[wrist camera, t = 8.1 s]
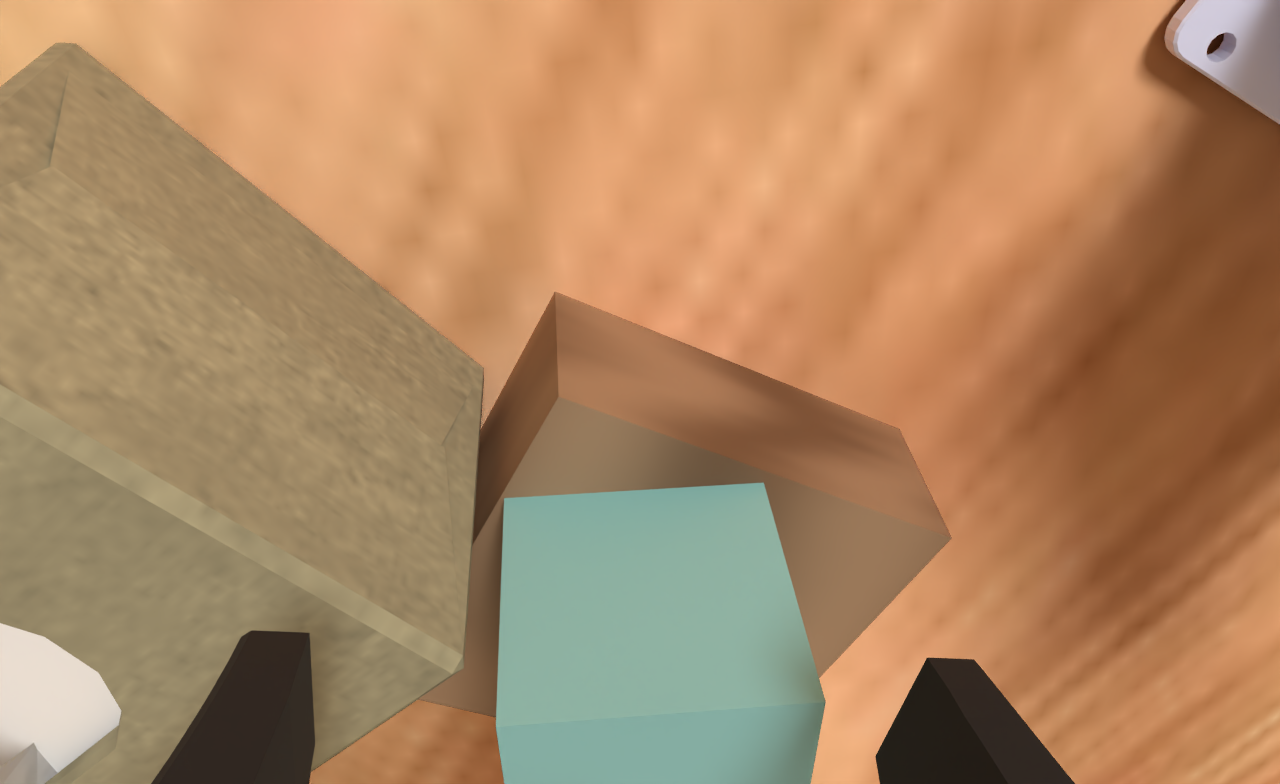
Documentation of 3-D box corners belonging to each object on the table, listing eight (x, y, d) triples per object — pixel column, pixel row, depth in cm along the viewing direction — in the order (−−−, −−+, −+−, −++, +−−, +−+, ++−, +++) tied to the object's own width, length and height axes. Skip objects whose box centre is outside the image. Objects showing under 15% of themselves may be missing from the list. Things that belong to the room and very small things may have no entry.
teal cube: (763, 482, 19) (825, 701, 15) (746, 649, 22) (794, 868, 18) (504, 498, 18) (495, 727, 14) (523, 664, 21) (520, 893, 17)
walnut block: (894, 419, 23) (951, 538, 20) (707, 644, 28) (730, 771, 25) (555, 282, 20) (558, 397, 17) (405, 560, 25) (387, 692, 22)
